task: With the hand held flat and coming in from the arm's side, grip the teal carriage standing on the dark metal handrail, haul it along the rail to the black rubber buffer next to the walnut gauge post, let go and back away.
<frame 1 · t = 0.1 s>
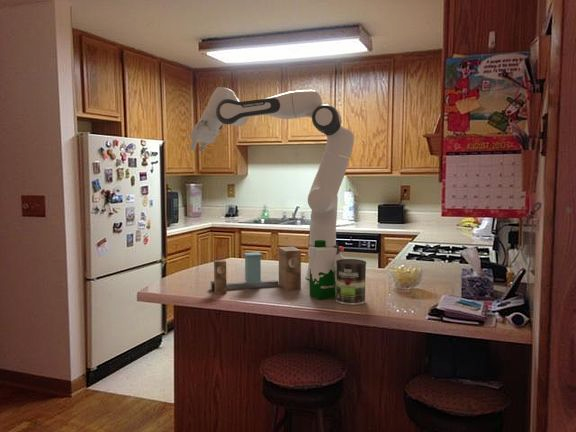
hand: (196, 150, 215), 54 cm above the counter, tool tilted 30°, fingers open, 8 cm apart
handrail: (247, 287, 191), on the counter
carriage: (252, 267, 191), point 8 cm above the counter, slide at 0.0 cm
milk carton: (322, 297, 178), on the counter
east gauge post: (220, 292, 183), on the counter
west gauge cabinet: (289, 286, 193), on the counter
coffee can: (350, 301, 171), on the counter
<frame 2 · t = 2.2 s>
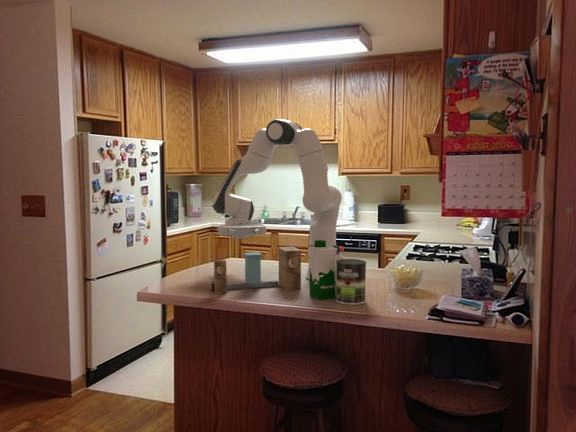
hand: (245, 232, 202), 20 cm above the counter, tool horizontal, fingers open, 8 cm apart
nothing on the counter moved.
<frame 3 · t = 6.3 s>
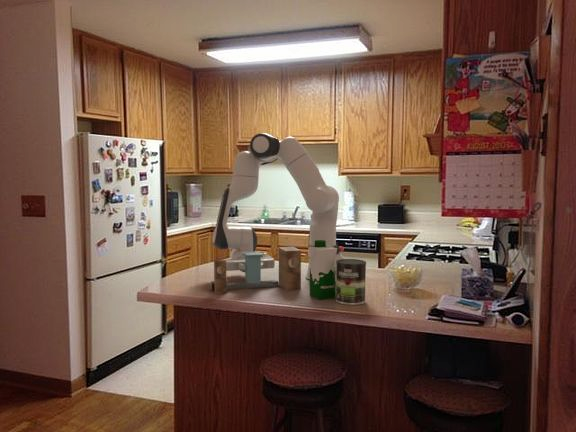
hand: (253, 267, 190), 8 cm above the counter, tool horizontal, fingers closed on carriage, 5 cm apart
carriage: (252, 267, 191), point 8 cm above the counter, slide at 0.0 cm, touching gripper
everything else where it was.
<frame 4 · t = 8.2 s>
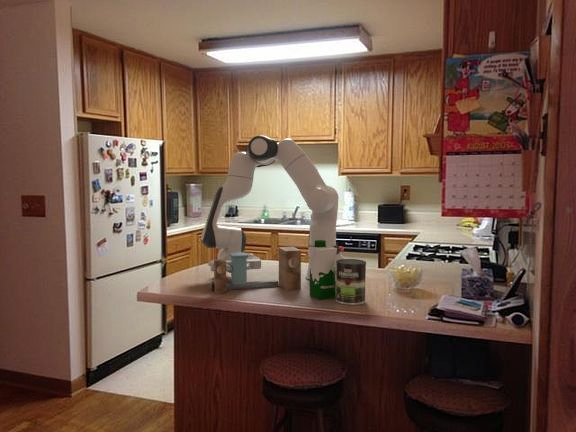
hand: (239, 268, 189), 8 cm above the counter, tool horizontal, fingers closed on carriage, 5 cm apart
carriage: (238, 268, 189), point 8 cm above the counter, slide at 5.6 cm, touching gripper
everything else where it was.
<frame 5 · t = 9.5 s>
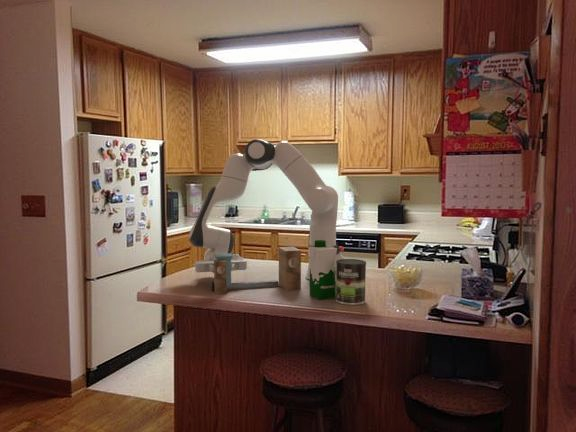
hand: (223, 269, 187), 8 cm above the counter, tool horizontal, fingers closed on carriage, 5 cm apart
carriage: (223, 269, 188), point 8 cm above the counter, slide at 11.5 cm, touching gripper, handrail
everything else where it was.
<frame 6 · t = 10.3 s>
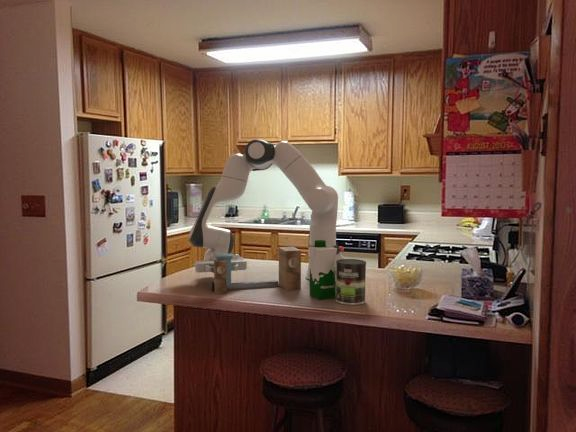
hand: (223, 269, 187), 8 cm above the counter, tool horizontal, fingers open, 8 cm apart
carriage: (223, 269, 188), point 8 cm above the counter, slide at 11.5 cm, touching handrail
everything else where it was.
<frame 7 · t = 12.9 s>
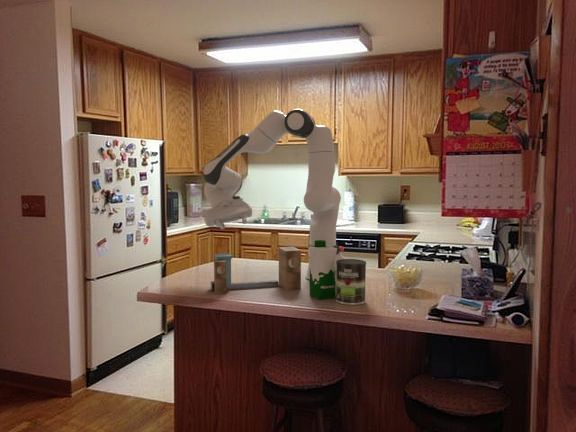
hand: (234, 225, 200), 23 cm above the counter, tool tilted 60°, fingers open, 8 cm apart
nothing on the counter moved.
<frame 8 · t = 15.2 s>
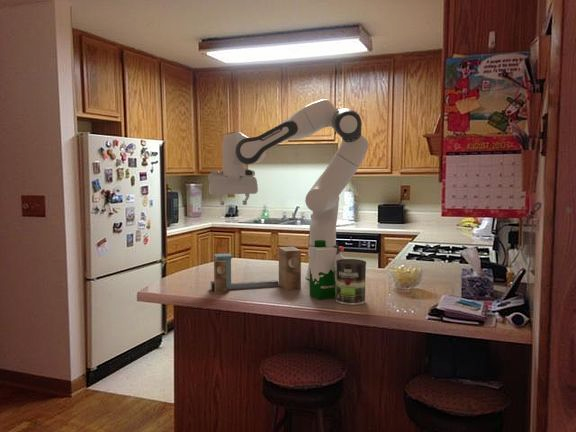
hand: (233, 205, 205), 31 cm above the counter, tool pointing down, fingers open, 8 cm apart
nothing on the counter moved.
at the end: carriage slide at 11.5 cm; the gripper is holding nothing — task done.
